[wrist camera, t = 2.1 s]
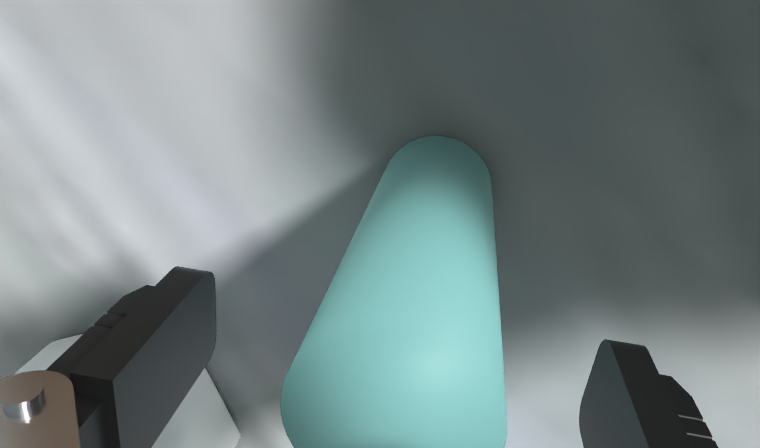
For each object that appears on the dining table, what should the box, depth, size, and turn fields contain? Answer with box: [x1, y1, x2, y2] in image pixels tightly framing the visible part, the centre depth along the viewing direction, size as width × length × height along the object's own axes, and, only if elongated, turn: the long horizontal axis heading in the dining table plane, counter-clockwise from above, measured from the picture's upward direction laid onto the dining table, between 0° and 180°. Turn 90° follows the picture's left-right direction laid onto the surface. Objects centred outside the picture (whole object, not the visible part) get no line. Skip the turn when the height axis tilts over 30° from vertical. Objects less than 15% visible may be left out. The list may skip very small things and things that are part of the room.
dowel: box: [280, 136, 507, 448], centre depth 15 cm, size 4×4×12 cm
